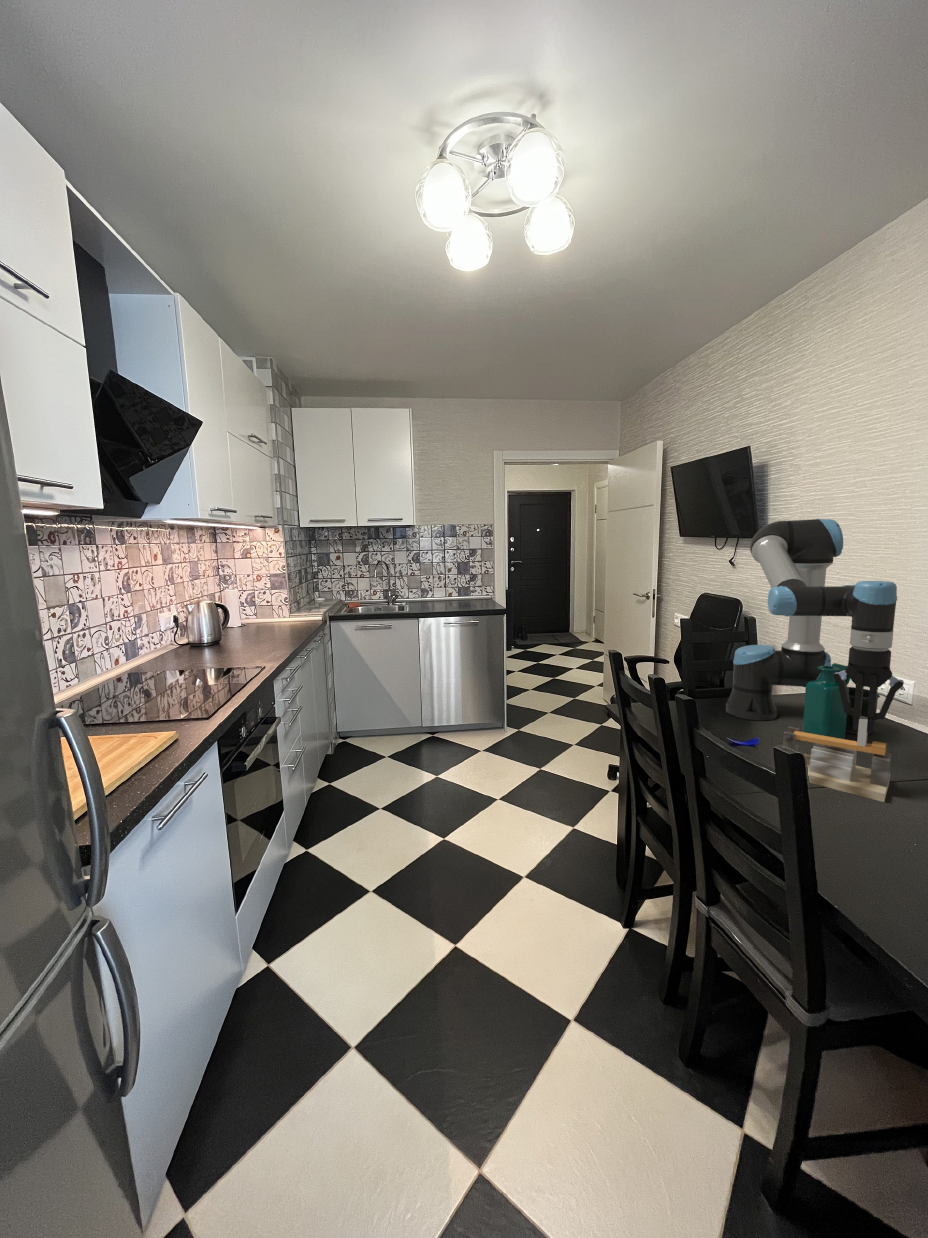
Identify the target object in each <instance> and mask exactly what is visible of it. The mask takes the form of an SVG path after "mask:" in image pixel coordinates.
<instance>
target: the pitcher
mask: <svg viewBox="0 0 928 1238" xmlns="http://www.w3.org/2000/svg"><path fill="white" fill-rule="evenodd" d="M846 667H847V665H845V664H840V663H837V662H833V663H831V666H818V667H817V668H818V669H819V670H821V673H820V679H819V680H814V681H809V682H808V683H807V684H806V687H805V691H804V703H803V704H804V705H803V718H802V729H801V730H802V731H801V732H805V733H811V734H817V735H822V736H828V737H834V738H840V739H845V740H846V733H847V732H846V721H847V714H846V713H845V712H844V709H843V704H842V700H841V695H840V691H839V686H838V683H837V682H836V680H835V679H834V677H833V675H834V674H835V673H836V672H841V671H844V670H845V668H846ZM846 677H847V678H846V680H845V681H846V685H847V690H848V694H849V689H848V687H849V686H848V685H849V683H850V681H851V679H850V677H849V676H848V675H846Z"/></svg>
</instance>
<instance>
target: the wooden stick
mask: <svg viewBox="0 0 928 1238" xmlns="http://www.w3.org/2000/svg"><path fill="white" fill-rule="evenodd" d="M794 734H796V738H795V739H797V740H799V741H803V742H809V743H814V744H815V743H819V744H824V745H829V746H835V747H840V748H846V749H851V750H857V751H858V752H862V753H863V752H864V753H868V754H872V755H874V754H878V755H884V756H885V753H887V743H886V742H881V741H874V740H873V741H872V743H868V742H867V744H866V746H865V747H863V746H858V745H857V741H856V740H850V739H846V738H845V739H840V738H834V737H828V736H822V735H817V734H811V733H805V732H802V731H800V732H799V731H795V732H794Z"/></svg>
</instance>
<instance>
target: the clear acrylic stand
mask: <svg viewBox="0 0 928 1238" xmlns="http://www.w3.org/2000/svg"><path fill="white" fill-rule="evenodd" d="M800 729H801V728H798V727H793V726H788V727H787V731H784V732H783V741H782V742H783V743H782V747H783V746H785V747H788V748H791V749H793V750H796V751H798V752H799V745H800V740H797V739H795V738H796V734H794V732H795V731H799V732H801V730H800ZM804 755H805V757H806V760H807V767H808V776H809V782H810V784H814V785H817V786H821V787H826V788H828V789H829V788H830V789H832V790H835V791H839V792H844V793H849V794H851V795H855V796H857V797H858V796H860V797H862V798H866V799H870V800H874V801H878V802H881V803H885V801H886V797H887V794H888V793H887V792H888V789H889V785H890V782H891V781H890V780H891V773H890V772H891V764H892V763H891V762H892V753H887V752H886V753H885V756H884V755H878V754H872V758H871V768H868V767H864V766H859V765H857V750H851V749H846V748H840V747H835V746H829V745H824V744H819V743H814V745H813V747H812V748H811V750H810V754H807V753H804ZM809 782H808V783H809Z"/></svg>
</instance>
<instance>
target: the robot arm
mask: <svg viewBox="0 0 928 1238" xmlns="http://www.w3.org/2000/svg"><path fill="white" fill-rule="evenodd" d="M843 549H844V535H843V530H842V528H841V526H840V524H839V523H838V522H837V521H836V520H834V519H830V518H829V519H828V518H816V519H815V518H814V519H813V518H812V519H800V520H795V519H794V520H778V521H773V522H771V523H768V524H766V525H764V526H763V527H762V528H760V529H759V530H757V532H756V533H755V534H754V536H752V539H751V541H750V545H749V551H750V554H751V556H752V559H754V561H755V562H757V563H759V564H760V567H761V569H762V571H763V573H764V575H765V577H766V579H767V582H768V584H769V586H770V589H769V590H768V594H767V605H768V606H767V608H768V611H769V613H770V614H771V615H773V616H783V617H788V620H789V621H788V631H787V639H786V641H784V642H783V643H782V644H781V647H780V648H781V649H779V650H776V648H775V647H774V646H772V645H769V644H751V645H750V644H749V645H744V646H741V647H739V648H737V649H736V650H735V651H734V657H733V661H732V663H733V675H732V688H731V689H732V690H731V692H730V694H729V697H728V698H727V701H726V704H725V712H726V713H727V714H729V715H732V716H734V717H736V718H740V719H744V720H750V721H761V722H762V721H763V722H764V721H772V720H774V719H776V718H777V716H778V709H777V707H776V703H775V700H774V696H773V686H781V687H783V686H784V687H802V688H806V684H807V683H808V682H809V681H814V680H819V679H820V673H821V670H819V669H818V668H817V667H818V666H832V658H831V655H830V654H829V652H827V651H826V650H825V649H826V648H825V647H824V646H823V645H822V643H820V641H821V640H820V639H821V630H822V621H823V620H822V619H823V618H822V617H850V618H851V626H850V638H849V645H850V646H851V647H849V649H848V660H847V661H848V662H847V665H846V666H847V667H846V668H845V670H844V671H841V672H836V673H835V674H834V675H833V677H834V679H835V680H836V682H837V683H838V686H839V691H840V695H841V700H842V704H843V709H844V712H845V713H846V714H849V715H851V716H853V727H852V728H853V730H856V731H858V735H857V745H858V746H863V747H865V746H866V744H867V743H868V742H867V741H868V735H867V733H872V734H874V732H875V731H874V724H875V725H876V721H877V720H878V721H879V720H881V721H882V720H884V719H886V717H887V716H886V715H887V713H888V711H889V709H890V707H891V704H892V702H893V700H894V698H895V696H896V693H897V692H898V690H900V689H901V688H903V687H904V683H905V681H904V680H903V679H900V678H897V677H895V676H894V675H893V672H892V670H891V662H892V660H891V659H892V651H891V650H890V649H891V648H892V647H893V641H894V640H893V639H894V627H895V616H896V608H897V602H898V595H897V594H898V593H897V591H898V590H897V589H898V587H897V584H896V583H895V582H892V581H887V580H886V581H885V580H884V581H883V580H861V581H858V582H856V583H855V584H852V585H851V584H847V585H842V586H840V585H839V586H836V585H835V586H826V578H827V568H829V567H830V566H832V565H833V563H834V559H835V558H837V557H840V555H842V552H843ZM846 675H848V676H849V677H850V681H852V683H853V684H854V685H855V702H854V709H852V708H851V703H850V699H849V694H848V690H847V687H848V685H846V681H845V680H846V678H847V677H846ZM887 681H889V683H888V685H889V687H890V688H889V690H888V692H887V694H886V696H885V699H884V702H883V703H882V705H881V708H880V710H879V712H877V711H876V703H877V704H878V701H877V693H878V691H879V688H880V687H882V685H884V684H885V683H886V682H887ZM865 687H867V688H869V690H870V694H869V706H868V717H863V716H861V709H862V698H863V689H865ZM875 720H876V721H875ZM873 731H874V732H873Z"/></svg>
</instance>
